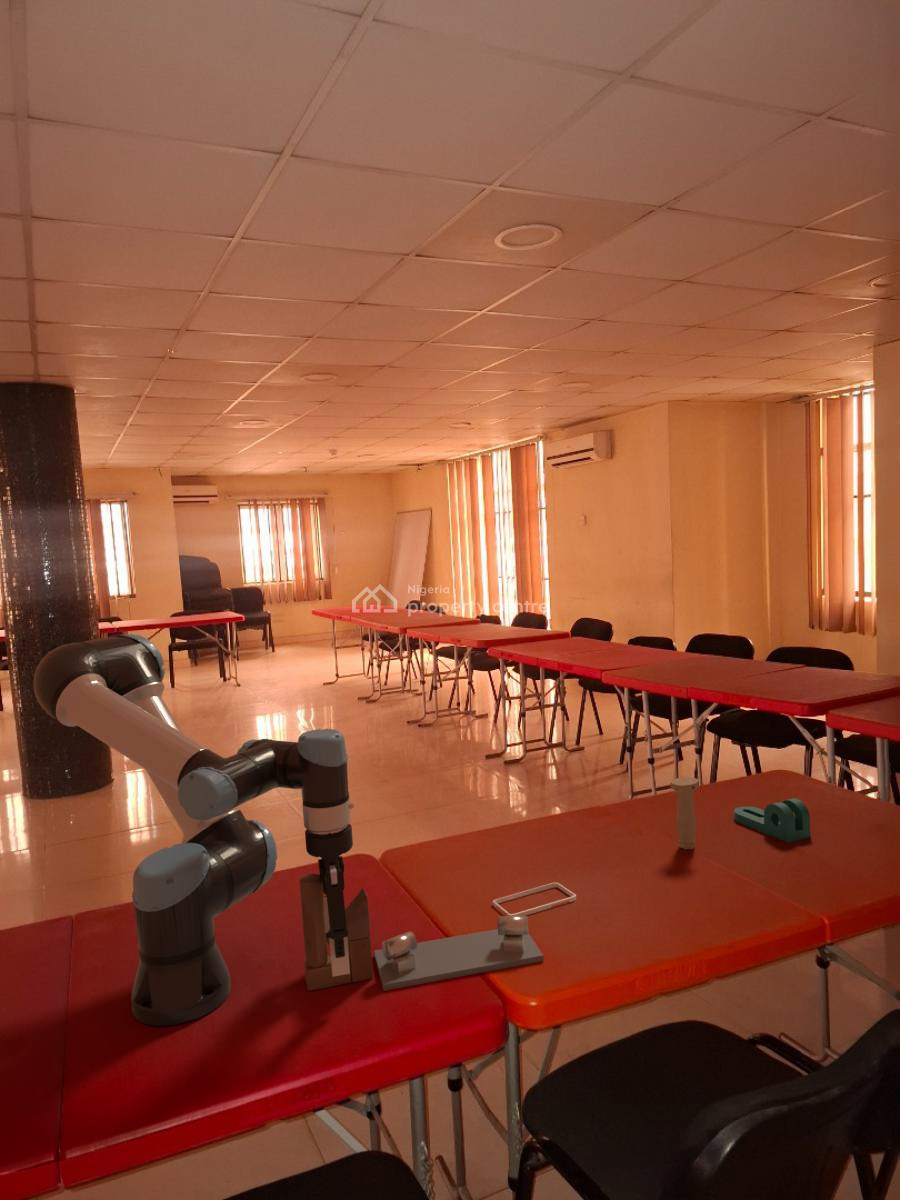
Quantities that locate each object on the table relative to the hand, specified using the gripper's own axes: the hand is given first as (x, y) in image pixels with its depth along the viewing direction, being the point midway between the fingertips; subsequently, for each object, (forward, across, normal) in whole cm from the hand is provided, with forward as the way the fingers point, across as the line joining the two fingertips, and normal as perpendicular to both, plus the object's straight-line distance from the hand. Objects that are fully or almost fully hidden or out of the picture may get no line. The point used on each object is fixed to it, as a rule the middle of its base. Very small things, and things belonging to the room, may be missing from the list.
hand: (337, 952), depth 128 cm
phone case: (+5, +15, -39) cm, 42 cm away
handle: (+5, +28, -79) cm, 84 cm away
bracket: (+5, +32, -102) cm, 107 cm away
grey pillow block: (+5, -1, -10) cm, 11 cm away
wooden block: (+5, 0, 0) cm, 5 cm away
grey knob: (+5, -1, -30) cm, 30 cm away
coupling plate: (+5, 0, -20) cm, 21 cm away
